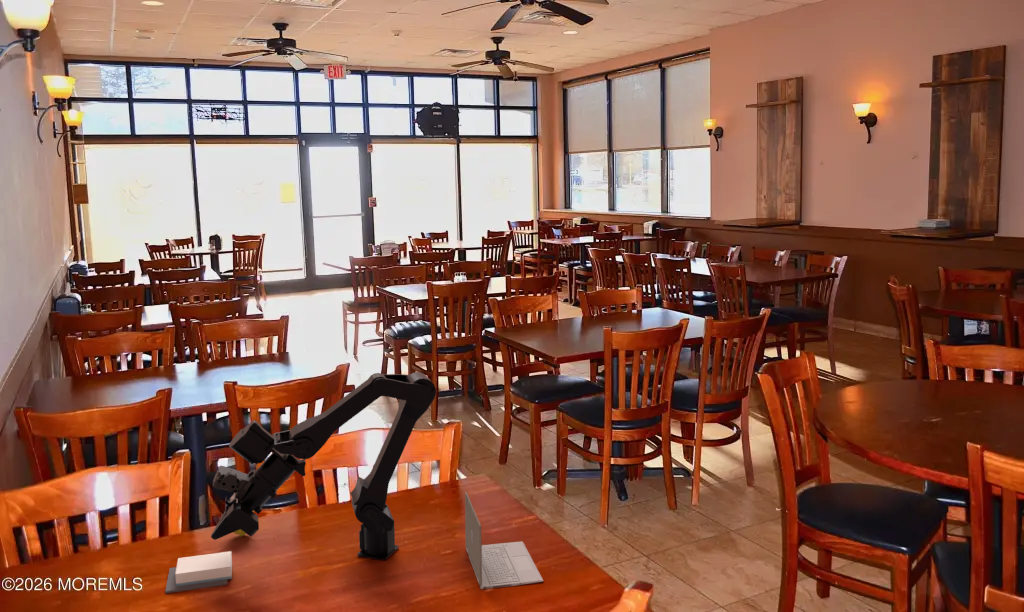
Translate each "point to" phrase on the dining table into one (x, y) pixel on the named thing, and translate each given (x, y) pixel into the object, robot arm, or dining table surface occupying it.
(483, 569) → the laptop
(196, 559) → the white rectangular block
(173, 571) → the mat
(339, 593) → the dining table surface
